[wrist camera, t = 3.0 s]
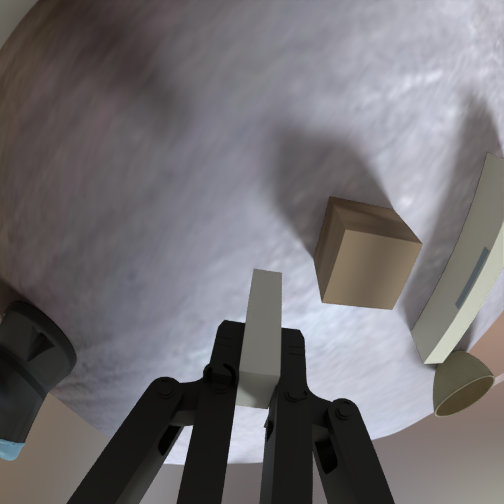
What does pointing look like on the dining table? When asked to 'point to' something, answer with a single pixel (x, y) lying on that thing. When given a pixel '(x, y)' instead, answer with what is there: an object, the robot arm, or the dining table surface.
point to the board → (466, 270)
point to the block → (363, 255)
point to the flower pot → (460, 383)
